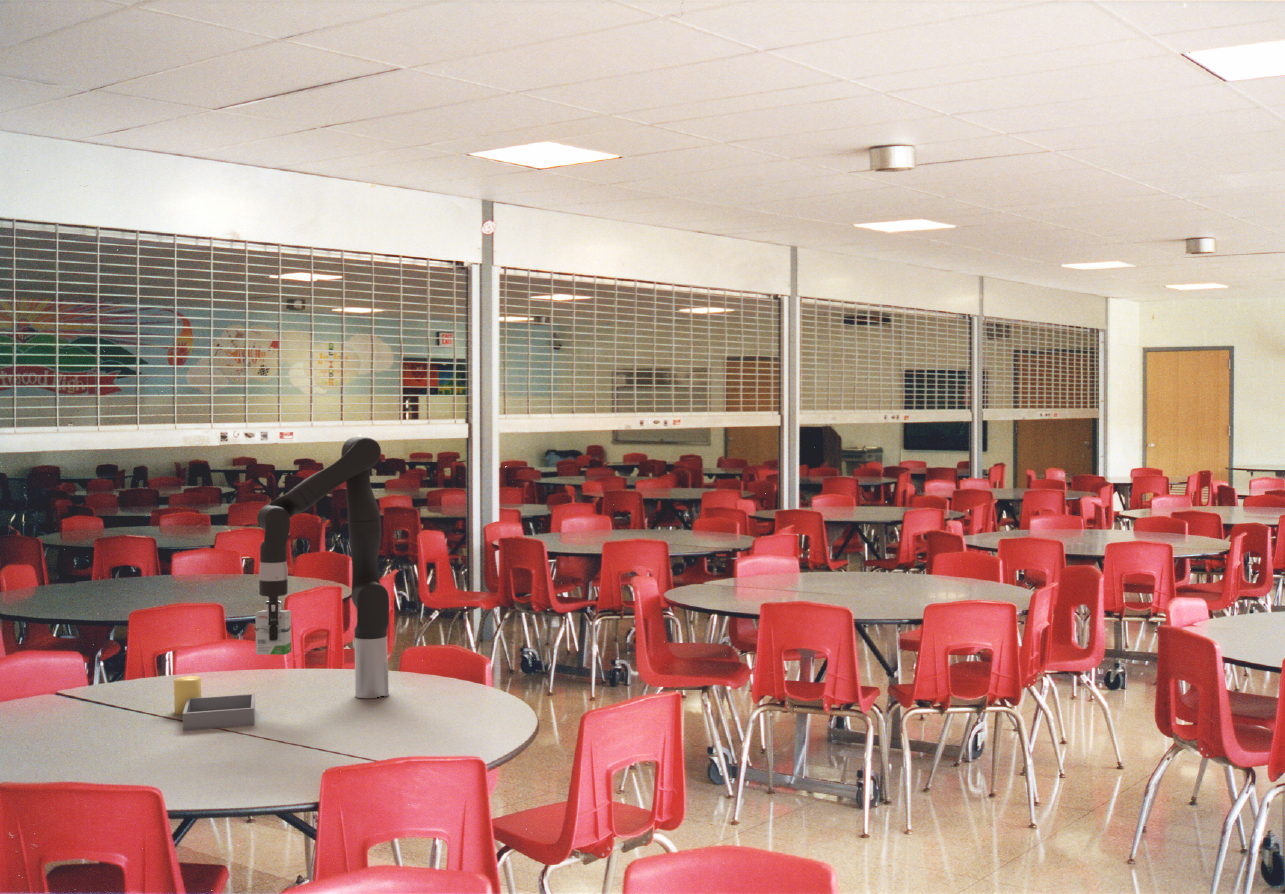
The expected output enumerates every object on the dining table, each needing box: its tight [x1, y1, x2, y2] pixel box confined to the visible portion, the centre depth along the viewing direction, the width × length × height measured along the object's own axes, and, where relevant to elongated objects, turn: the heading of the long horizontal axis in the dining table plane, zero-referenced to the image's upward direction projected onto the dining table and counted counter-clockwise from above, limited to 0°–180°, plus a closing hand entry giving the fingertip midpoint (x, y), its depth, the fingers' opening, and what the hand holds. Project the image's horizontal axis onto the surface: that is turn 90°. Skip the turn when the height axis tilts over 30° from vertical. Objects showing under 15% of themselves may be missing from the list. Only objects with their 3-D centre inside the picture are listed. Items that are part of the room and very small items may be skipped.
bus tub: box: [182, 693, 256, 732], centre depth 327 cm, size 18×18×4 cm
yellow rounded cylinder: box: [173, 675, 202, 715], centre depth 337 cm, size 7×7×9 cm
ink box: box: [254, 609, 292, 656], centre depth 337 cm, size 9×5×12 cm, turn 84°
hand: (273, 638), depth 337 cm, fingers closed on ink box, 6 cm apart
